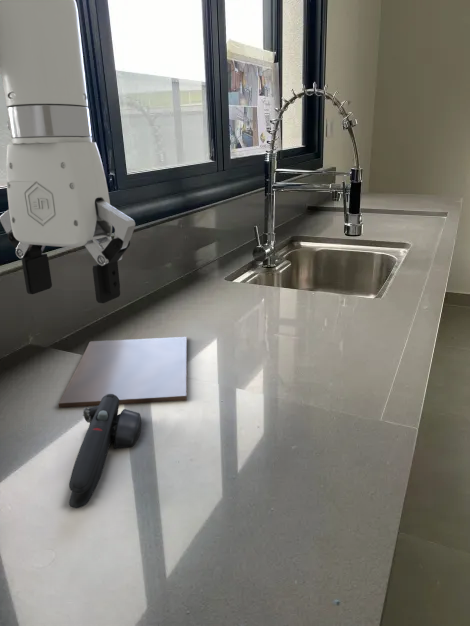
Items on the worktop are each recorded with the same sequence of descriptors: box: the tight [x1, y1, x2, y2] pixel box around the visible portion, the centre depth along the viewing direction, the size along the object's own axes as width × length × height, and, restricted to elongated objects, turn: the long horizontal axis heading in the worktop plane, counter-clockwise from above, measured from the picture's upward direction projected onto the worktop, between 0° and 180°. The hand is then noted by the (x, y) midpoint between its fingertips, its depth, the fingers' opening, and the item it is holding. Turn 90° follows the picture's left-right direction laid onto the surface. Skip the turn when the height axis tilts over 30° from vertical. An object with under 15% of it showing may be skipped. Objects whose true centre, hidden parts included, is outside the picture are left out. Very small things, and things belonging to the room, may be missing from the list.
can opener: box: [68, 394, 142, 509], centre depth 58 cm, size 18×7×6 cm, turn 178°
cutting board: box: [57, 336, 188, 409], centre depth 82 cm, size 18×24×2 cm
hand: (73, 295), depth 54 cm, fingers open, 9 cm apart
